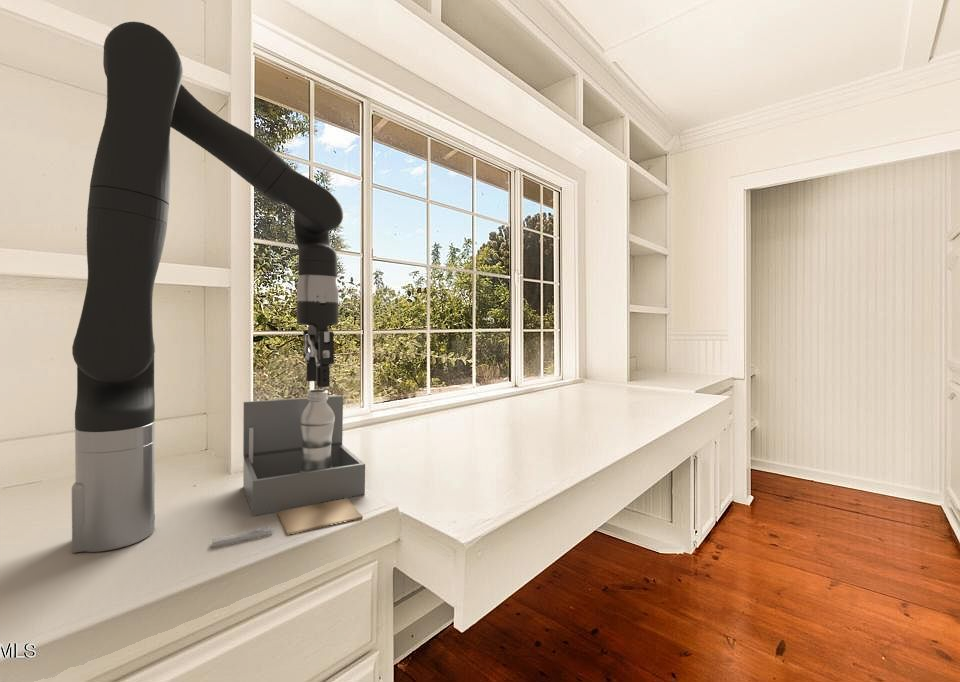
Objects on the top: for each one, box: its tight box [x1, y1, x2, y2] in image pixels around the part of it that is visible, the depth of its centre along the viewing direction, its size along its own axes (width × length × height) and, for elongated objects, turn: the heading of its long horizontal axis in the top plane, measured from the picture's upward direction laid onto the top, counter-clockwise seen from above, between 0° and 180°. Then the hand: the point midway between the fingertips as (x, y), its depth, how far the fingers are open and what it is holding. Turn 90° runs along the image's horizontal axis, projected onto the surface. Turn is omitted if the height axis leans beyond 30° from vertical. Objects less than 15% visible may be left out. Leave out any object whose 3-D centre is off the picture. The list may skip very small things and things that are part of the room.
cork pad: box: [277, 498, 363, 536], centre depth 76 cm, size 12×9×1 cm
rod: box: [211, 526, 273, 549], centre depth 67 cm, size 8×1×1 cm, turn 124°
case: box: [242, 394, 366, 517], centre depth 87 cm, size 20×16×17 cm
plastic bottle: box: [300, 389, 335, 473], centre depth 86 cm, size 6×7×20 cm
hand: (317, 383), depth 86 cm, fingers open, 8 cm apart
